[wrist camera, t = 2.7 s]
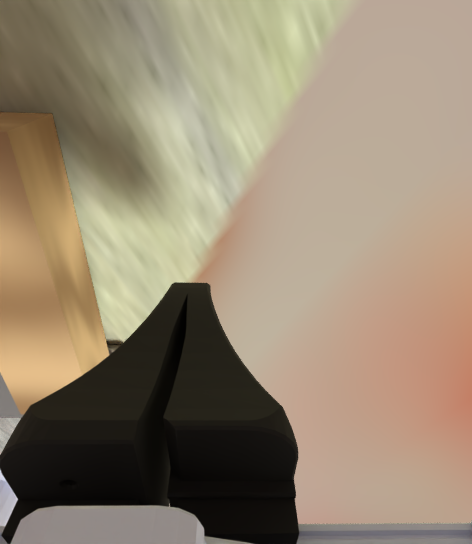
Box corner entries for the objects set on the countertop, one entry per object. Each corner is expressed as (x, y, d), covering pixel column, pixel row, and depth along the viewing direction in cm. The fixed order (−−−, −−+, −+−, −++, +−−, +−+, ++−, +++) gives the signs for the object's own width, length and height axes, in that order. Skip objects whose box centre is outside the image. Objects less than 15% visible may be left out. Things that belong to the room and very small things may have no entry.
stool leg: (121, 403, 22) (107, 452, 19) (61, 403, 21) (38, 452, 19) (53, 113, 13) (8, 131, 10) (-49, 111, 13) (-122, 128, 10)
